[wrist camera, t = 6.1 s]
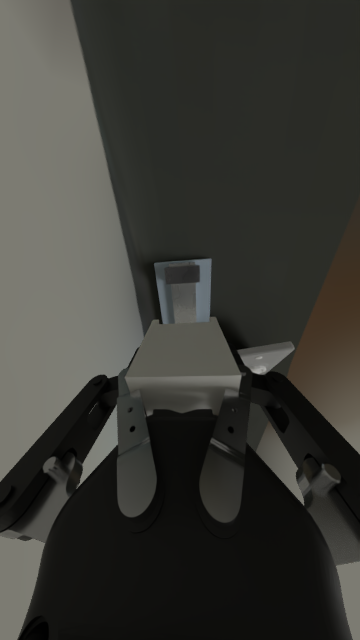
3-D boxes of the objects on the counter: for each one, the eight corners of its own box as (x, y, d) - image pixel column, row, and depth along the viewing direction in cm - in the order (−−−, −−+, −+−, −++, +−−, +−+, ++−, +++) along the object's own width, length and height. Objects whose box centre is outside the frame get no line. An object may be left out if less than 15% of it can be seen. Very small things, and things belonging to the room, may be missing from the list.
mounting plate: (156, 262, 21) (153, 263, 19) (209, 258, 20) (211, 258, 19) (166, 338, 27) (165, 343, 26) (207, 337, 26) (208, 341, 25)
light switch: (226, 383, 30) (229, 365, 18) (219, 357, 33) (218, 328, 21) (267, 378, 28) (300, 355, 17) (256, 351, 32) (277, 316, 20)
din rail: (166, 263, 19) (163, 265, 17) (198, 261, 19) (199, 263, 17) (175, 342, 25) (174, 351, 23) (199, 341, 25) (200, 351, 23)
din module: (152, 319, 14) (123, 380, 7) (215, 316, 13) (243, 378, 7) (159, 358, 16) (141, 430, 10) (213, 356, 15) (232, 431, 9)
